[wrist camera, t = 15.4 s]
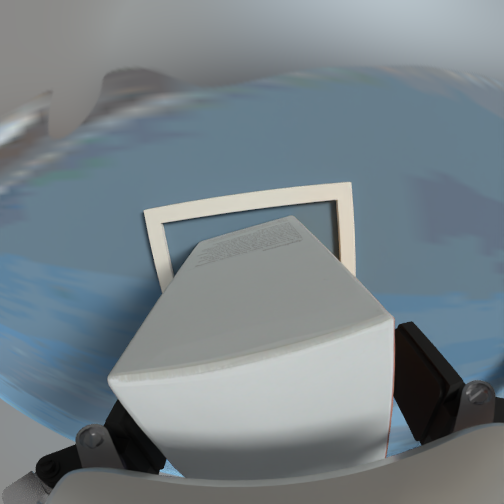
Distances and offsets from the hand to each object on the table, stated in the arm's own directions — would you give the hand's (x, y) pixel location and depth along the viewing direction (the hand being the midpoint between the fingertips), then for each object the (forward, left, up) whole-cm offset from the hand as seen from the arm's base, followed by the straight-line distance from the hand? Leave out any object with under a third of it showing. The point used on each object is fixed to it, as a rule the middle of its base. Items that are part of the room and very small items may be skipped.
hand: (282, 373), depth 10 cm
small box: (0, 0, -9) cm, 9 cm away
